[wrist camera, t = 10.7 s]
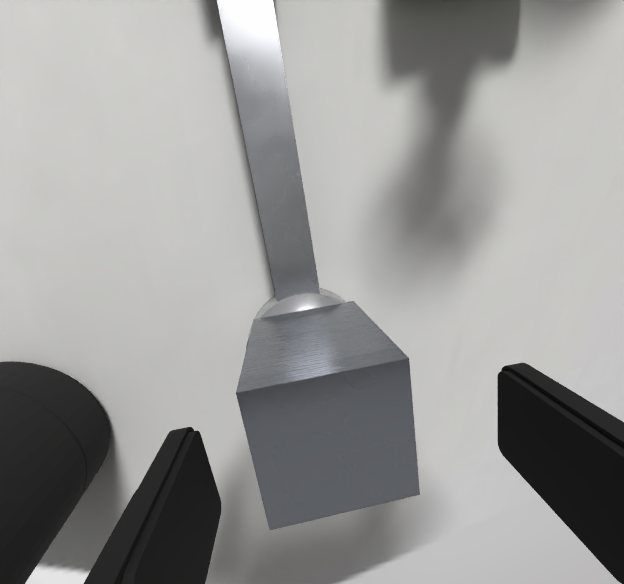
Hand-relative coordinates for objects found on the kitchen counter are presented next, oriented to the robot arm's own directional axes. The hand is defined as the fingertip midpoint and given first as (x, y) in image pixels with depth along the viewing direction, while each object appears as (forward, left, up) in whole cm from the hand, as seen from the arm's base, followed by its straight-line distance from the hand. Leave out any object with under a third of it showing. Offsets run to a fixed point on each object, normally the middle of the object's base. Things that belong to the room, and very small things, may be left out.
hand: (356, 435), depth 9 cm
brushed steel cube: (+1, 0, -6) cm, 6 cm away
